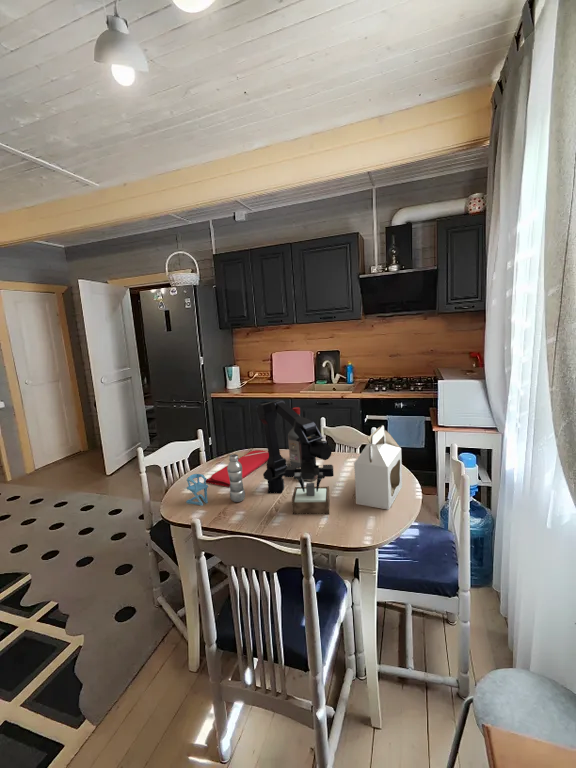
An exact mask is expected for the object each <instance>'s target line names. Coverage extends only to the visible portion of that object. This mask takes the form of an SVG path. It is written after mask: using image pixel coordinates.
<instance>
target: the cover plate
mask: <svg viewBox="0 0 576 768" xmlns="http://www.w3.org/2000/svg"><path fill="white" fill-rule="evenodd" d="M305 487H306V489H305V492H303V490H302V489H297V491H296V496H295V500H294V502H326V488H318V492H317V491H316V488H315V487H316V486H315V482H306V485H305Z"/></svg>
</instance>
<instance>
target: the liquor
mask: <svg viewBox="0 0 576 768" xmlns="http://www.w3.org/2000/svg"><path fill="white" fill-rule="evenodd" d="M292 410H294V411H295V412H296V413H297V414H298V415H299V416H301V407H299V406H298V407H297V406H295V407H293V408H292ZM297 438H299V437H298V435H297V434H296V433H295V432H294V429H293V427H292V428H291V429H290V430H289V431H288V433H287V439H288V453H289V464H290V465H296V468H301V465H300V453H299V442H298V441H296V439H297Z"/></svg>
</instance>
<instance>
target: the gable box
mask: <svg viewBox="0 0 576 768" xmlns="http://www.w3.org/2000/svg"><path fill="white" fill-rule="evenodd" d="M367 441H368V443H367V444H366V445H365V446H364V448H363V449H362V451H361V452H360V453H359V455H358V457H357V459H356V460H355V461H354V462H353V464H354V466H353V467H354V484H355V503H356V505H361V506H365V507H371V508H378V509H383V510H391V507H392V506H393V504H394V502H395V500H396V498H397V496H398V494H399V493H400V491H401V489H402V487H403V470H402V468H403V464H402V463H403V462H402V461H403V460H402V448H401V446H400V445H399V444H398V443H397V441H396V440H395V439H394V438H393V436H392V434H391V433H390V432H388V430H386V429H385V426H384V425H383V424H381V426H379V427H378V428H377V429H375V431H373V433H371V434H370V435H369V436H368V437H367Z"/></svg>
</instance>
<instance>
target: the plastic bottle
mask: <svg viewBox="0 0 576 768" xmlns="http://www.w3.org/2000/svg"><path fill="white" fill-rule="evenodd" d="M238 459H239V456H238V454H237V453H235V454H234V453H233V454H230V455H229V457H228V461H229V463H228V464H227V465H226V466H227V471H228V475H229V479H230V487H229V489H230V490H229V497H230V500H231V501H232V502H234V503H239V502H242V501H244V500H245V498H246V492H245V489H244V484H243V479H242V465H241V463H240V462H239V461H238Z"/></svg>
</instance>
